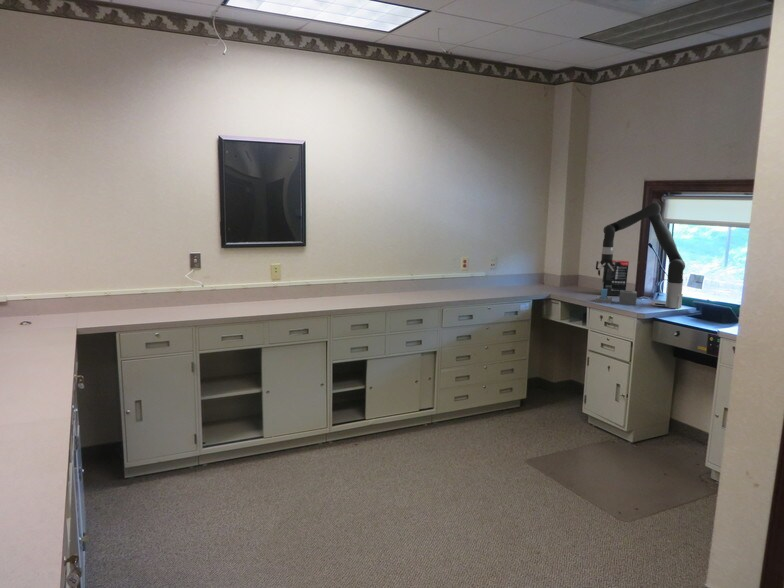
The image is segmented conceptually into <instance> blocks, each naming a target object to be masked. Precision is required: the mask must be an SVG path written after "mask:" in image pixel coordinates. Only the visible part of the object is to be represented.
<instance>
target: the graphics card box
mask: <svg viewBox="0 0 784 588" xmlns="http://www.w3.org/2000/svg"><path fill="white" fill-rule="evenodd" d="M612 261H613V262H617V270H616V271H614V275H613V276H612V270H611V268H610V267H609V268H607V267H605V268H604V267H603V273H602V282H601V289H607V296H614V297H620V290H626V291H627V281H628V271H629V263H630V262H629V260H612ZM611 266H612V267H613V269H615V265H614V264H612V265H611Z"/></svg>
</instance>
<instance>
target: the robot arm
mask: <svg viewBox="0 0 784 588" xmlns="http://www.w3.org/2000/svg"><path fill="white" fill-rule="evenodd" d="M661 211H662V207H661V205H660V204H659V203H657V202H651V203H649V204H648V205H646V206H645V207H644V208H642V209H640V210H638V211H635V212H634V213H632V214H630V215H628V216H625V217H623V218H620V219H619V220H616V221H615V222H613V223H610V224H607V225H605V226H604V228H603V233H604V235H603V240H602V249H601V259H600V260H599V261H598V260H597V261H596V264H595V270H597V275H598V276H601V270H602V269H604V268H605V267H607V268H609V267H610V268H611V270H612V276H613V275H614V271H616V270H617V262H613V261H612V260H613V259H614V258H613V257H614V238H615V234H616V232H619V231H623V230H624V229H626V228H630V227H631V226H633V225H634V224H636V223H638V222H641V221H643V220H645V219H647V218H648V220H649V221H650V223H651V225H652V227H653V231H654V234H655V236H656V239H657V241H658V243H659V245H660V247H661V248H662V249H663V251H664V253H665V254H666V256H667V259H668V261H669V263H668V264H669V265H668V270H667V285H666V286H667V287H666V296H665V297H666V298H665V307H666V308H669V309H671V308H672V309H680V308H682V305H683V304H682V303H683V302H682V301H683V284H684V283H683V282H684V270H685V269H686V262H685V261H684V259H683V258H682V256H681V254H680V253H679V251H678V248H677V244H676V242H675V239H674V238H673V235H672V232H671V230H670V229H669V227H668V226H667V225H666V223H665V222H664V220H663V218H662V215H661ZM599 264H600V266H599ZM612 264H614V265H615V269H613V267H612V266H611V265H612Z"/></svg>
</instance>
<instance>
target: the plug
mask: <svg viewBox="0 0 784 588" xmlns="http://www.w3.org/2000/svg"><path fill="white" fill-rule="evenodd" d="M600 292H601V293H600V297H601V299H607V297H608V295H607V289H602V288H601V290H600Z"/></svg>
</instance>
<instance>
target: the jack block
mask: <svg viewBox="0 0 784 588" xmlns="http://www.w3.org/2000/svg"><path fill="white" fill-rule="evenodd" d="M637 296H638V292H637V291H636V290H627V289H626V290H620V296H619V298H618V299H619V300H618V305H625V304H626V306H637V299H638V298H637ZM594 301H597V302H596V303H601V302H606V303H605V304H612V302H613V297H611V296H610V297H608V296H607V299H601V296H596V297H595V299H594Z"/></svg>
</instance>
